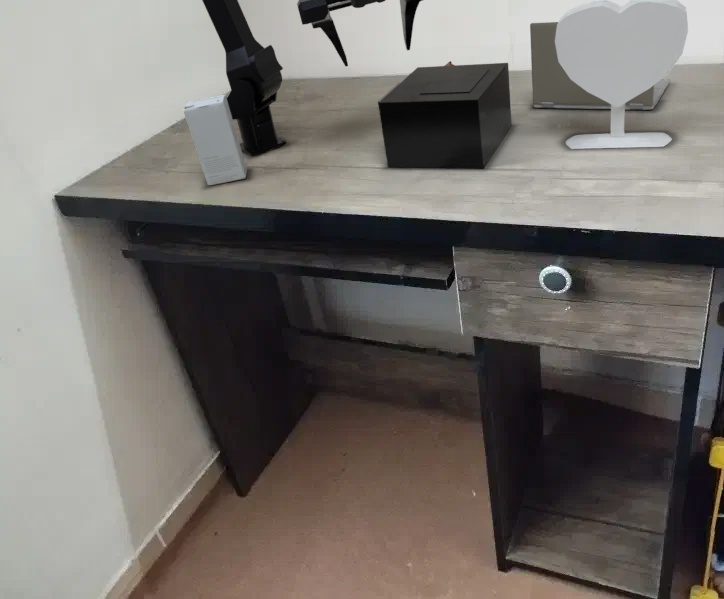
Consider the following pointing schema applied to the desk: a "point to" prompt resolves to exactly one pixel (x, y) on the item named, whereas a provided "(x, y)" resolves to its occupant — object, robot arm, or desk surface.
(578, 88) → the laptop
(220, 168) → the cosmetic box
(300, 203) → the desk surface
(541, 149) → the desk surface
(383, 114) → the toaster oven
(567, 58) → the heart sculpture
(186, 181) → the desk surface
